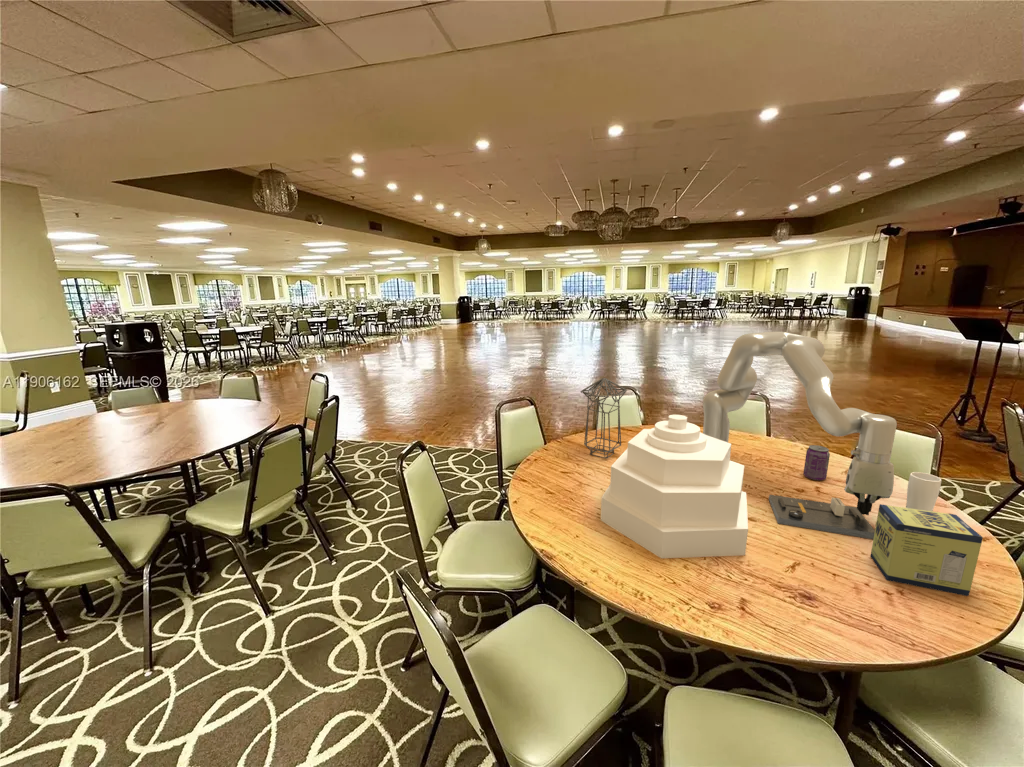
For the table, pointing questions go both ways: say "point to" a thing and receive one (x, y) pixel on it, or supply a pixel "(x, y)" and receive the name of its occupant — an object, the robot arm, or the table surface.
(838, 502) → the fader
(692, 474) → the tiered cake
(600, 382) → the geometric lantern
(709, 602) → the table surface
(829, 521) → the console
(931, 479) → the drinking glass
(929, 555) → the protein box
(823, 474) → the beverage can
